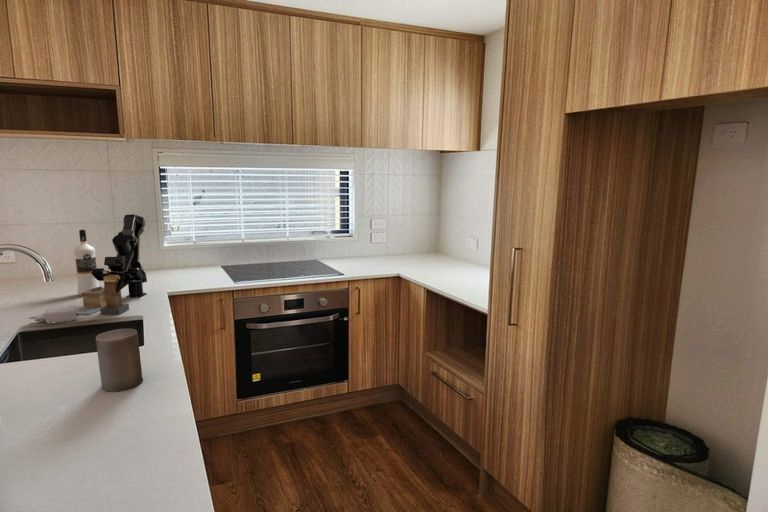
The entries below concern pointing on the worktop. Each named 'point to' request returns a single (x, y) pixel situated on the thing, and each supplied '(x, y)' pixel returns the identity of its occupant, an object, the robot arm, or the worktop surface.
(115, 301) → the brown rectangular block
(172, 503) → the worktop surface
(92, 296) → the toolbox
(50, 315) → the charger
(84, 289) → the vodka
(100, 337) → the pillar candle
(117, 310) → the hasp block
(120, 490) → the worktop surface
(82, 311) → the rubber mat
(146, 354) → the worktop surface
